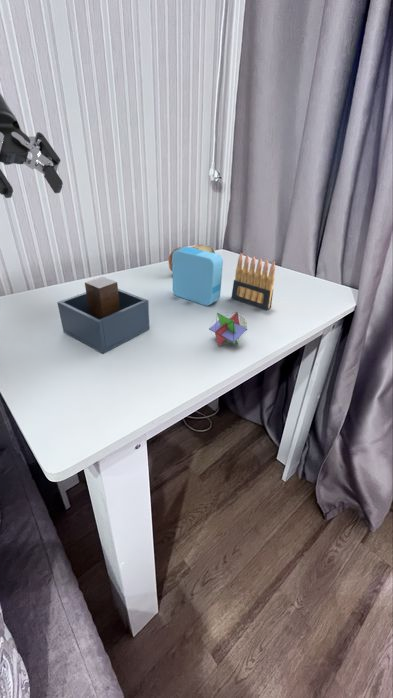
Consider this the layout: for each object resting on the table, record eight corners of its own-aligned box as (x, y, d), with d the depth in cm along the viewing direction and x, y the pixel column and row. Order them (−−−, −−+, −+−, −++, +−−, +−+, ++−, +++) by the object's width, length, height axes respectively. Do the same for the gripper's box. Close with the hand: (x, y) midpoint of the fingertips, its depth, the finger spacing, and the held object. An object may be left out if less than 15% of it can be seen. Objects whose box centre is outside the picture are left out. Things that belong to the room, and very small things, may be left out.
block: (91, 327, 69) (84, 282, 64) (107, 320, 72) (102, 276, 67) (105, 334, 67) (99, 288, 62) (121, 326, 70) (117, 282, 65)
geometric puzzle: (222, 350, 61) (242, 311, 61) (196, 335, 66) (215, 299, 65) (239, 357, 67) (258, 322, 67) (215, 343, 71) (232, 310, 71)
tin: (171, 279, 97) (171, 250, 92) (167, 275, 99) (166, 247, 94) (215, 272, 103) (217, 244, 98) (210, 268, 105) (211, 241, 101)
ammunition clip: (271, 308, 83) (279, 260, 76) (267, 310, 81) (275, 262, 75) (234, 296, 88) (239, 251, 81) (231, 298, 87) (235, 252, 80)
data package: (220, 301, 85) (223, 255, 78) (210, 307, 81) (213, 259, 75) (182, 289, 90) (183, 245, 84) (172, 294, 87) (172, 249, 80)
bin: (102, 354, 63) (98, 322, 59) (63, 332, 69) (57, 302, 65) (149, 329, 71) (148, 300, 68) (110, 311, 77) (107, 284, 74)
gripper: (-71, 77, 46) (-6, 178, 46) (27, 89, 55) (80, 173, 56) (-71, 122, 51) (-12, 212, 52) (19, 127, 61) (67, 202, 62)
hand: (36, 192), depth 54 cm, fingers open, 8 cm apart
